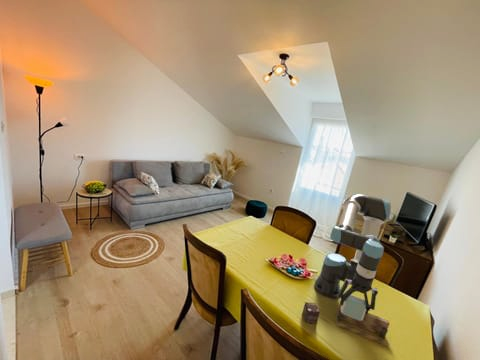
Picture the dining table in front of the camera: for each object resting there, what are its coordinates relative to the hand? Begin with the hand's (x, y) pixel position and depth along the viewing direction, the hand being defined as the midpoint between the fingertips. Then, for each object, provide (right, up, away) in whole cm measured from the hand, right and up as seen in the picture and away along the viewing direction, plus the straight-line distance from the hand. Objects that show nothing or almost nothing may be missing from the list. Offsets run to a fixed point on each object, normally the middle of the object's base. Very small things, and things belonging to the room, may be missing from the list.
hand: (351, 314), depth 109 cm
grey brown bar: (+8, -12, +8) cm, 17 cm away
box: (-17, -8, +10) cm, 21 cm away
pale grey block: (0, 0, 0) cm, 0 cm away
